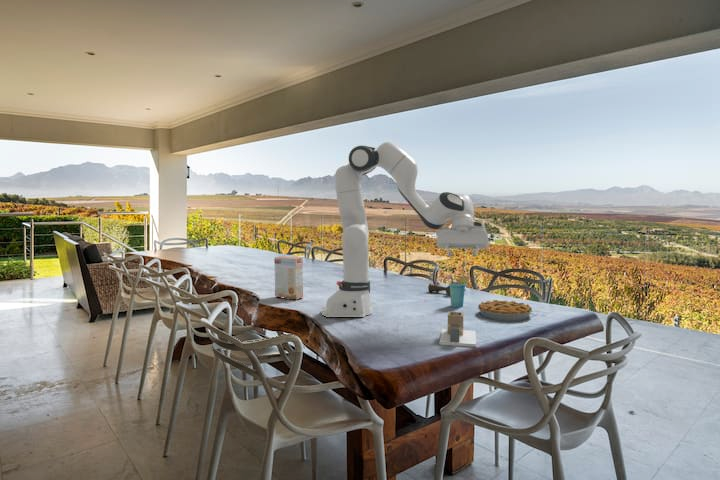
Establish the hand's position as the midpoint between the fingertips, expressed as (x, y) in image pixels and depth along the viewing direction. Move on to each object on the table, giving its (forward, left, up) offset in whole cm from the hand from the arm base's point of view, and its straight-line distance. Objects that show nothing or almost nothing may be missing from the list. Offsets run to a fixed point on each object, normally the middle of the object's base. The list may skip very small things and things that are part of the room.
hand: (462, 255), depth 177 cm
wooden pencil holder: (-10, -16, -26) cm, 32 cm away
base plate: (-10, -17, -27) cm, 34 cm away
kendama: (+20, +56, -28) cm, 66 cm away
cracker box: (-62, +67, -28) cm, 95 cm away
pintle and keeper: (-11, -18, -27) cm, 35 cm away
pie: (+24, +9, -28) cm, 38 cm away
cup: (+11, +29, -28) cm, 41 cm away
